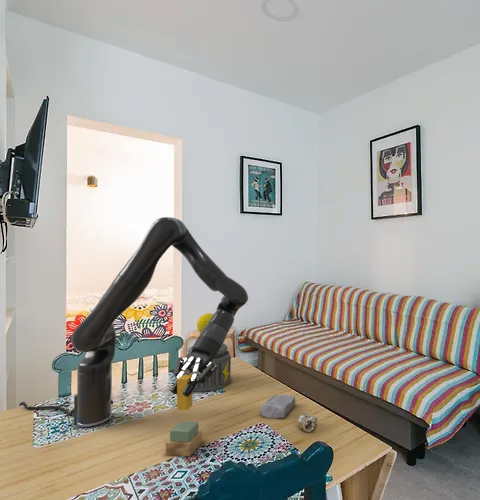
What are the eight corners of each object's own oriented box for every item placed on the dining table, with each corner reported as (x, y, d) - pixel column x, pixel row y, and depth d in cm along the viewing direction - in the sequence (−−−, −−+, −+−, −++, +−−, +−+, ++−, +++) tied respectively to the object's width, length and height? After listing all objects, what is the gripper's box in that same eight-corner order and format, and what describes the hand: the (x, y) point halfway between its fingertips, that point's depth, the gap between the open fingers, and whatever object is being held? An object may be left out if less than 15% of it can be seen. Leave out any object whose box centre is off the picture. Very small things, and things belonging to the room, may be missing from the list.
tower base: (165, 455, 98) (165, 442, 98) (179, 441, 105) (179, 429, 105) (189, 456, 98) (189, 444, 98) (202, 442, 105) (202, 430, 105)
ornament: (322, 429, 113) (322, 418, 113) (302, 435, 110) (302, 423, 110) (312, 418, 120) (312, 408, 120) (293, 423, 117) (293, 412, 117)
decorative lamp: (239, 378, 154) (241, 311, 154) (210, 395, 137) (211, 319, 136) (204, 373, 160) (205, 308, 160) (172, 388, 142) (173, 315, 142)
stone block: (258, 421, 121) (285, 419, 119) (256, 407, 121) (283, 404, 119) (273, 407, 132) (297, 404, 130) (271, 394, 133) (295, 391, 131)
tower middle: (169, 441, 99) (169, 430, 99) (180, 431, 104) (180, 421, 104) (188, 442, 98) (188, 431, 98) (198, 432, 104) (198, 422, 104)
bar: (176, 410, 100) (177, 378, 100) (182, 405, 103) (183, 374, 103) (186, 410, 100) (187, 379, 100) (192, 405, 103) (192, 375, 103)
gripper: (186, 332, 110) (152, 384, 99) (223, 337, 106) (192, 392, 94) (198, 344, 115) (167, 395, 104) (234, 349, 111) (206, 404, 99)
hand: (179, 394), depth 99 cm, fingers closed on bar, 3 cm apart
